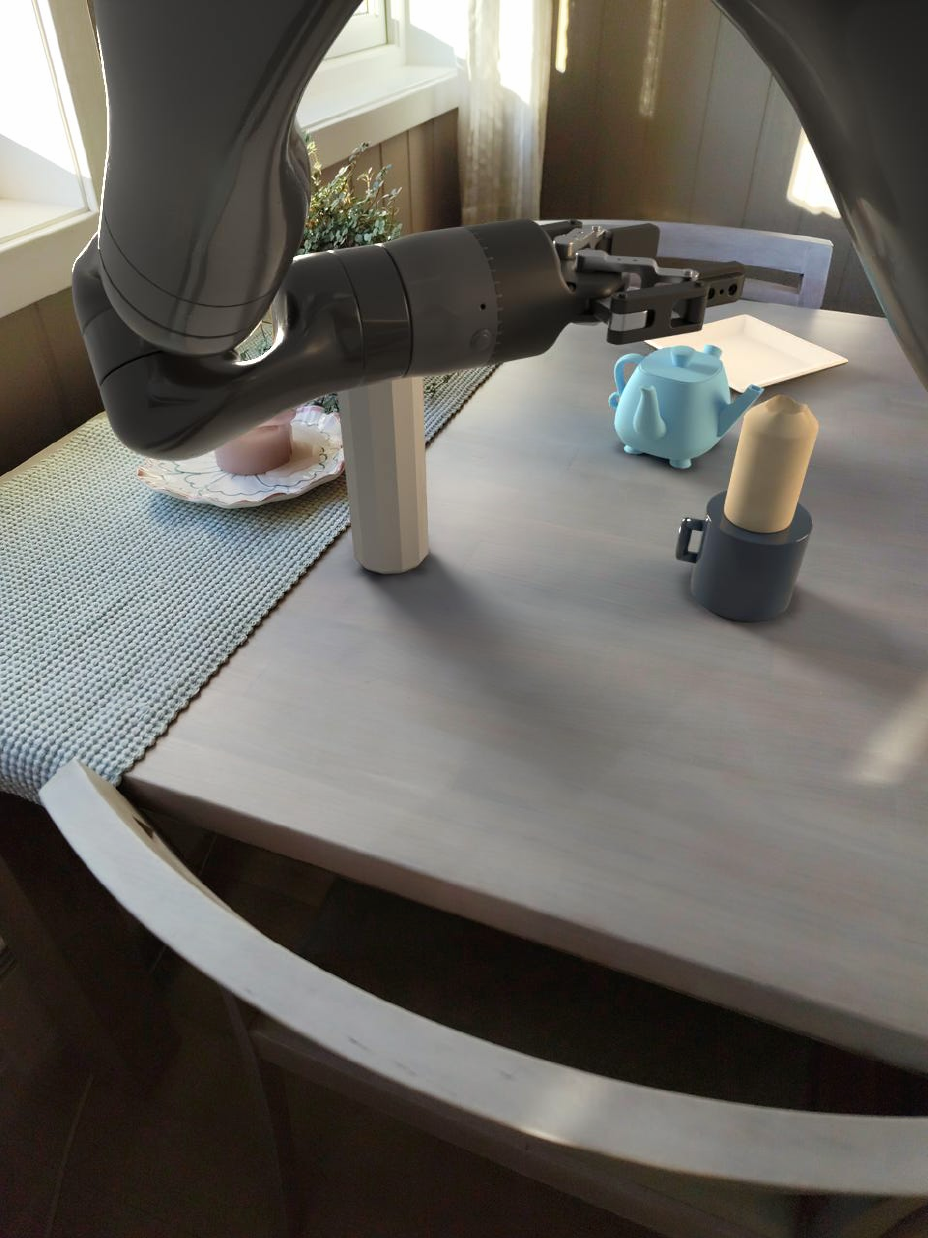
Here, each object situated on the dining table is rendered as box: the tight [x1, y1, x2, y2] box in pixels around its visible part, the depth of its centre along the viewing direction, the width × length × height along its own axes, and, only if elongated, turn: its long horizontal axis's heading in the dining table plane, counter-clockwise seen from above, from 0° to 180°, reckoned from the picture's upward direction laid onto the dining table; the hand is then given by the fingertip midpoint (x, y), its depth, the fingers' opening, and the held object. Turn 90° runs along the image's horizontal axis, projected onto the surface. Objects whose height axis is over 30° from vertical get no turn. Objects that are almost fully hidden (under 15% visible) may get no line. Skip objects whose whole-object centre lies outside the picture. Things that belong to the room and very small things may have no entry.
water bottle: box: [336, 377, 430, 575], centre depth 74 cm, size 9×8×25 cm
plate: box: [643, 314, 849, 395], centre depth 114 cm, size 19×19×2 cm
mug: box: [674, 489, 814, 623], centre depth 75 cm, size 10×9×8 cm
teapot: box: [608, 345, 765, 469], centre depth 94 cm, size 15×14×11 cm
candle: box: [724, 394, 820, 533], centre depth 69 cm, size 6×6×10 cm
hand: (695, 259), depth 54 cm, fingers open, 8 cm apart
